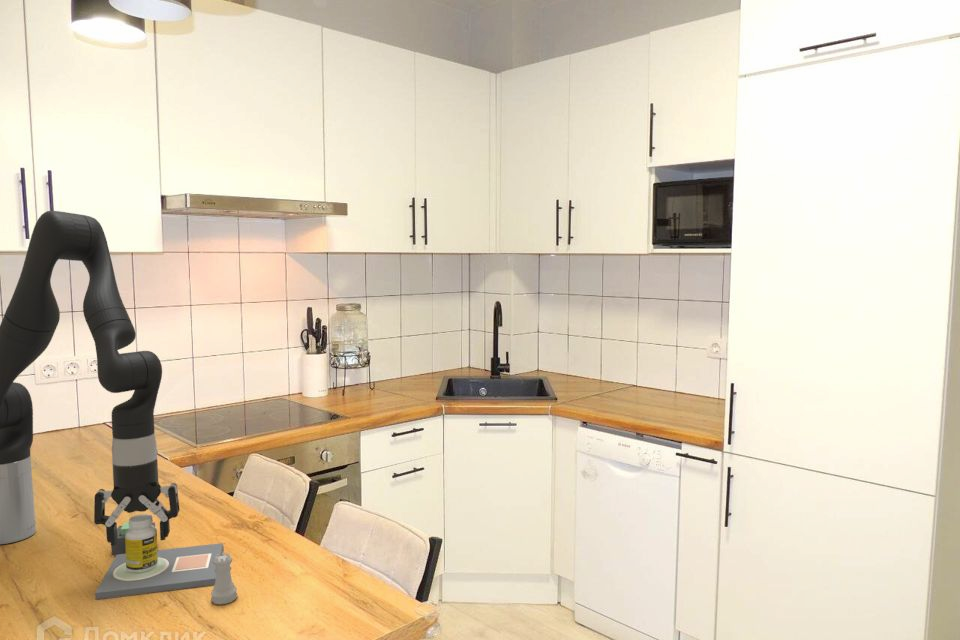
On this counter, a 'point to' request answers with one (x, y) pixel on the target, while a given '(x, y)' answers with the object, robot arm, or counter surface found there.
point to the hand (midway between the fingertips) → (139, 541)
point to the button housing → (120, 543)
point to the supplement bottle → (141, 544)
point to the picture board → (162, 572)
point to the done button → (124, 528)
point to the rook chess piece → (223, 581)
